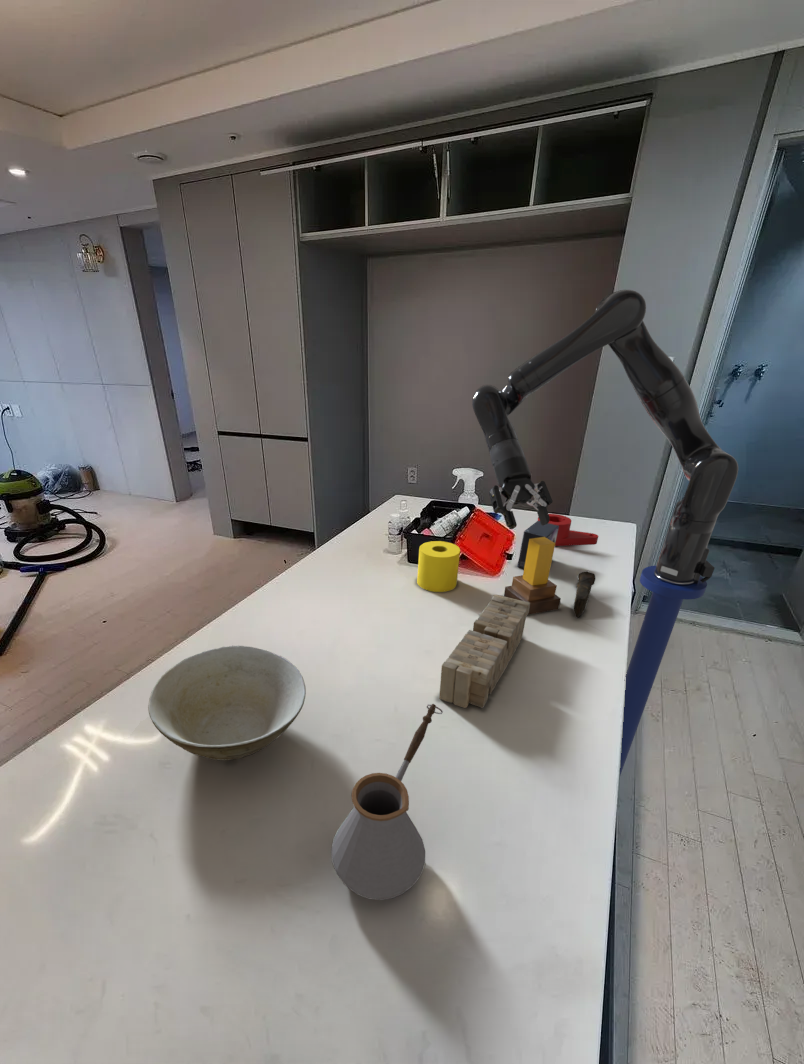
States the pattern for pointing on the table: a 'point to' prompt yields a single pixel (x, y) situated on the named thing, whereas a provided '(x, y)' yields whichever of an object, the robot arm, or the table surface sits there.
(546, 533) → the small box
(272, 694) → the bowl
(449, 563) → the yellow toilet paper roll
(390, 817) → the coffee pot
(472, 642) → the block tower
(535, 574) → the bar
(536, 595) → the brown stepped wooden block
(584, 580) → the hand tool
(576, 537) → the lever
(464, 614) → the table surface
